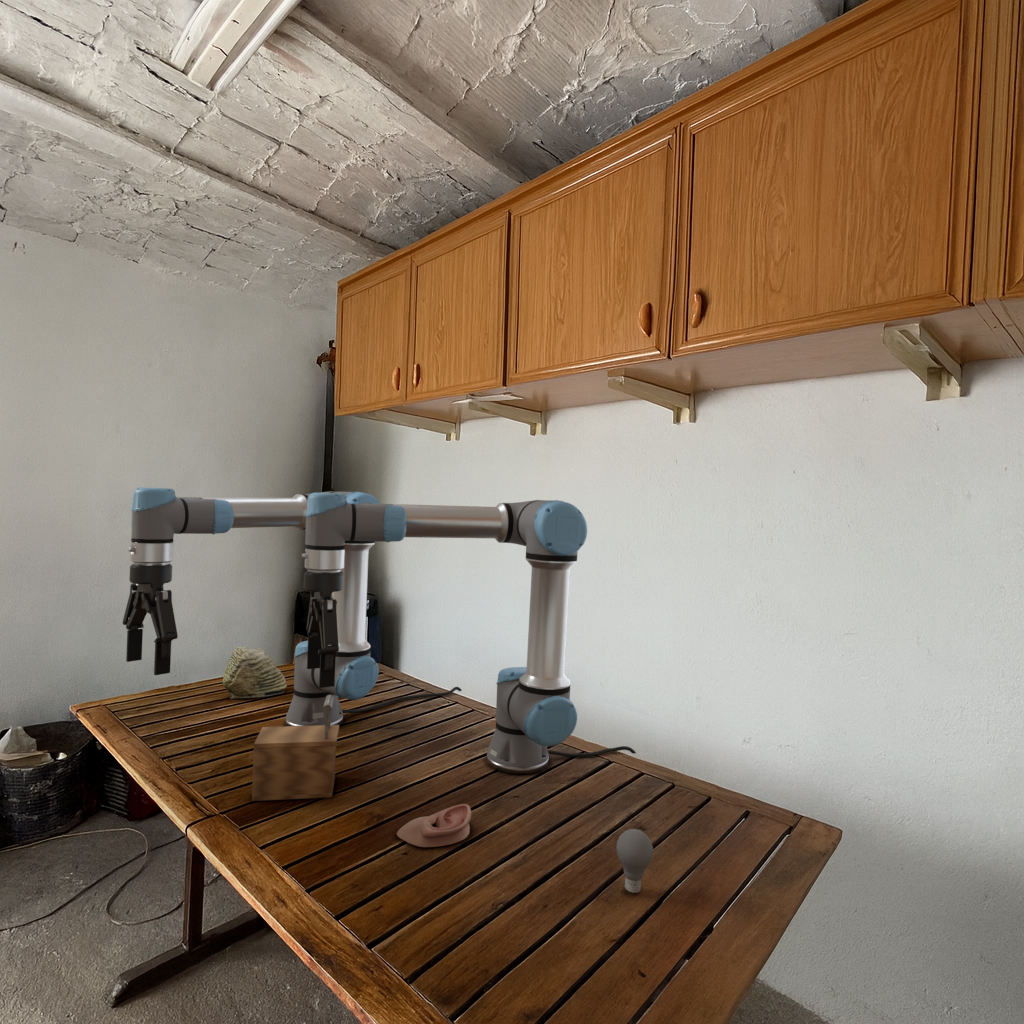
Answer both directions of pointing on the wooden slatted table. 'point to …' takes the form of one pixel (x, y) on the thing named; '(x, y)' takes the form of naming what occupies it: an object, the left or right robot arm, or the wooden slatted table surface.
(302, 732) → the lid
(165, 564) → the left robot arm
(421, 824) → the anatomical model
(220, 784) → the wooden slatted table surface
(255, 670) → the fossil
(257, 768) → the chest
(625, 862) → the light bulb
